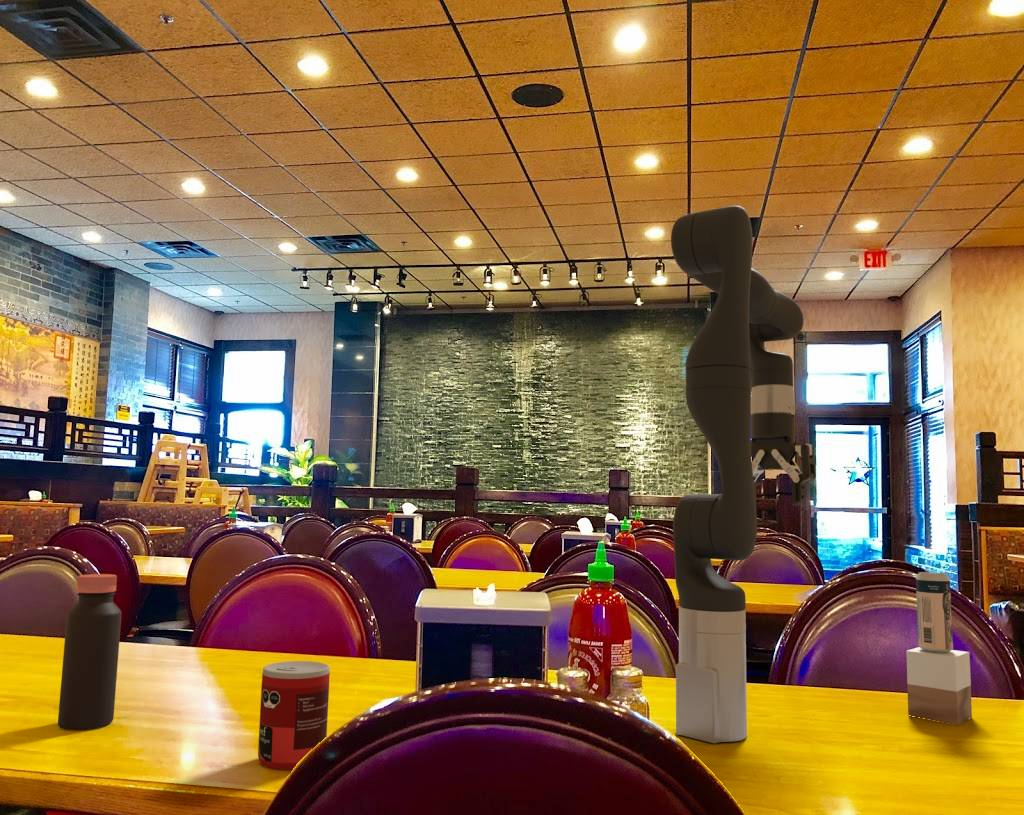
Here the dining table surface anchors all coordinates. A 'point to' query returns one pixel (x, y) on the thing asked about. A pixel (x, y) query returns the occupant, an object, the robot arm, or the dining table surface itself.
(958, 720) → the tower base
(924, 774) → the dining table surface
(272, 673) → the canned food
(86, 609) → the bottle
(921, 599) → the beer can
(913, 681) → the tower top
